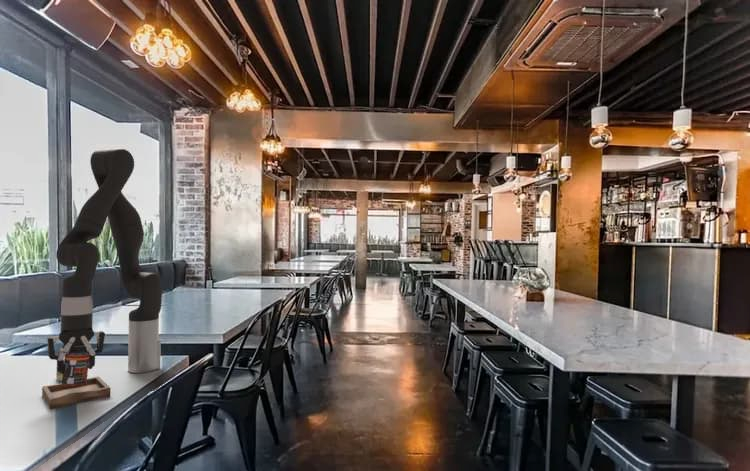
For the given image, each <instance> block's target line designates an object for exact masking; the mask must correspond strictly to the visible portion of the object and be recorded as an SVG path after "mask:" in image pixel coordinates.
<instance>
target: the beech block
mask: <svg viewBox="0 0 750 471" xmlns="http://www.w3.org/2000/svg"><path fill="white" fill-rule="evenodd" d="M55 380H56V381H61V374H60V372H58V371H57V370H56V379H55Z"/></svg>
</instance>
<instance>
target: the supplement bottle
mask: <svg viewBox="0 0 750 471" xmlns="http://www.w3.org/2000/svg"><path fill="white" fill-rule="evenodd" d="M89 357H90V354H89V352H88V351H87V348H86V346H85V345H78V346H72V349H69V350H68V352H67V353H66V355H65V356H64V359H63V360H64V374H63V376H62V386H64V387H79V386H83V385H85V384H86V381H87V379H88V376H89V375H88V372H89V368H88V366H89Z"/></svg>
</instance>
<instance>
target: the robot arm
mask: <svg viewBox="0 0 750 471" xmlns="http://www.w3.org/2000/svg"><path fill="white" fill-rule="evenodd" d="M89 162H90V168H91V171H92V175H93V177H94V180H95V182H96V186H97V188H98V189H97V190H95V192H94V193H93V194H92V195H91V196H89V198H88V199H87V200H86V201H85V203H84V204H83V205H82V207H81V209H80V211H79V213H78V216H77V219H76V220H75V223H74V226H73V227H72V228H71V229H70V230H69V231H68V233H67V234H66V236H64V237H63V239H62V240H61V241H60V243H59V244H58V246H57V250H56V254H55V255H56V256H55V257H56V260H57V262H58V263H59V264H60V265H61V266H63V267H70V268H73V267H74V268H75V271H74V274H72V275H68V276H67V275H66V276H65V277H64V278H63V279H62V298H61V299H62V300H61V305H60V333H59V335H56V336H52V337H51V336H49V337H46V346H47V347H46V348H47V353H48V358H49V359H50V360H54V361H56V372H57V371H58V372H60V374H64V360H65V355H66V354H67V353H68V352H69V351H70V349H72V346H78V345H85V346H86V348H87V349H86V350H87V352H89V354H90V357H89V366H88V370H92V369H93V367H95V365H96V355H97V354H100V353H102V352H103V349H104V344H105V335H106V333H105V332H104V331H103V330H99V331H94V329H93V316H94V315H93V312H94V304H93V303H94V302H93V280H94V277H95V274H96V271H97V267H98V264H99V260H100V251H99V248H98V247H97V245H96V244H94V243H93V242H90V241H92V240H94V239H97V238H99V237H100V236H101V234H102V232H103V229H104V227H105V224H106V222H107V219H108V223H109V227H110V231H111V232H110V233H111V235H112V238H113V241H114V246H115V250H116V254H117V258H118V259H117V260H118V263H119V269H120V275H121V277H120V278H121V282H122V288H123V291H124V292H123V293H125V295H126V296H127V297H128V298H129V299H134V300H139V305H138V307H136V309H133V310H130V311H129V313H128V350H127V351H128V353H127V355H128V356H127V357H128V358H127V360H128V361H127V362H128V363H127V364H128V365H127V368H128V369H127V370H128V373H133V374H136V373H137V374H141V373H147V372H148V373H149V372H152V371H155V370H158V369H161V354H162V353H161V350H162V349H161V343H162V341H161V340H160V339H159V337H160V335H159V334H160V332H159V331H160V330H159V329H160V321H159V320H160V312H161V309H162V304H163V303H162V300H163V281H162V277H161V276H160V275H159V274H158V273H155V272H143V271H142V268H141V266H140V260H139V256H140V255H139V254H140V251H141V248H142V245H143V242H144V236H145V232H144V226H143V223H142V220H141V218H142V217H141V216H140V213H139V212H138V210H137V209H136V208H135V207H134V205H132V203H131V202H130V201H129V200H128V199H127V197H125V195H124V194H123V192H122V191H123V189H124V187H125V185H126V184H127V182H128V181H129V179H130V177H131V176H132V174H133V171H134V169H135V160H134V156H133V155H132V153H131V152H130V151H129V150H127V149H125V148H105V149H97V150H94V152H92V153H91V156H90V161H89ZM93 337H95V339H96V341H97V342H96V346H95V347H96V348H93V346H92V345H91V342H90V341H91V340H92V338H93ZM58 341H60V342H61V343H62V346H61V347H60V349H59V352H58V354H57V353H55V352H56V350H55V345H57V342H58Z"/></svg>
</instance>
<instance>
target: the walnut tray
mask: <svg viewBox="0 0 750 471" xmlns="http://www.w3.org/2000/svg"><path fill="white" fill-rule="evenodd" d="M41 392H42V393H41V395H42V398H43V399H44V401H45V403H46V405H47V406H48V408H49V410H52V409H56V408H58V409H59V408H62V407H67V406H72V405H77V404H81V403H85V402H90V401H91V402H92V401H95V400H99V399H106V398H110V397H111V387H110V385H108V384H107V383H106V382H105V381H104V380H103V379H102V378H101V377H100V376H93V377H87V381H86V384H85V385H83V386H79V387H64V386H62V383H61V382H60V383H55V384H50V385H44V386H42V389H41Z"/></svg>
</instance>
